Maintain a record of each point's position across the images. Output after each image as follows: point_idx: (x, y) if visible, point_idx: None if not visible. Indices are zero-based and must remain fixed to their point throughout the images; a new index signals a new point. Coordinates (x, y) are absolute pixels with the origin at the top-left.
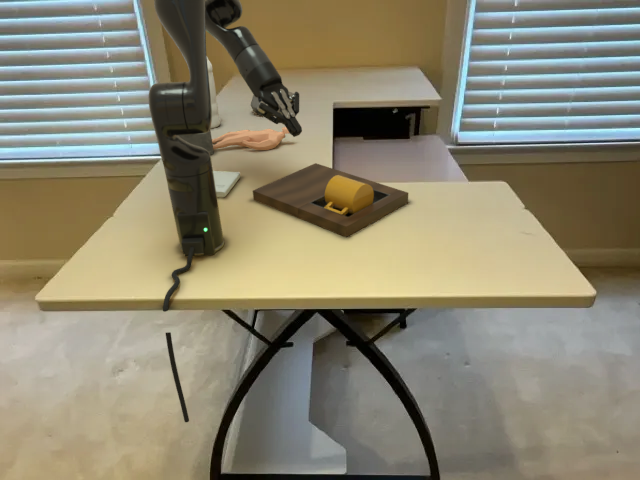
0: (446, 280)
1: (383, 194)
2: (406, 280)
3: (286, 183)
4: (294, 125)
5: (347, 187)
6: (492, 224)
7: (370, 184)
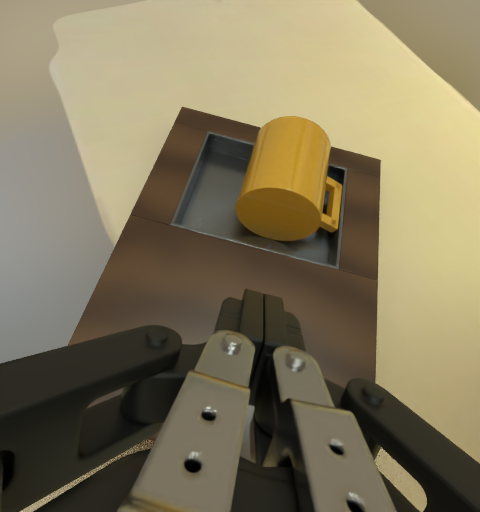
0: (380, 51)
1: (205, 146)
2: (412, 82)
3: None
4: (279, 314)
5: (319, 151)
6: (210, 24)
7: (168, 180)
